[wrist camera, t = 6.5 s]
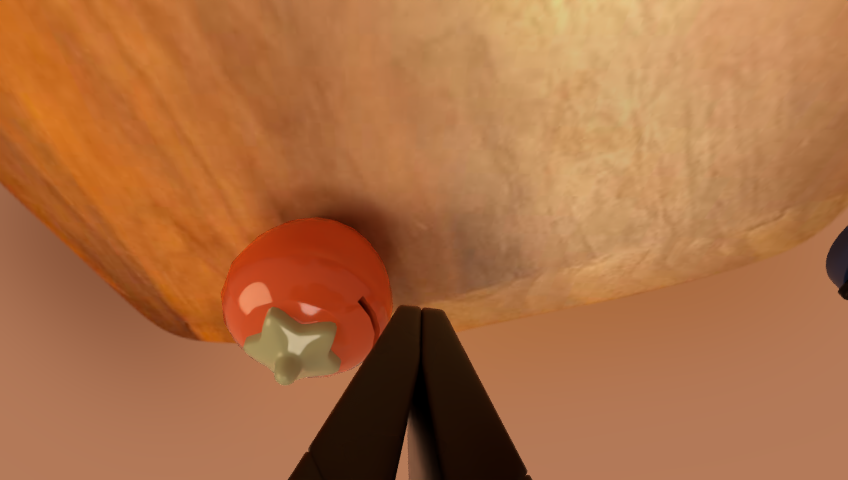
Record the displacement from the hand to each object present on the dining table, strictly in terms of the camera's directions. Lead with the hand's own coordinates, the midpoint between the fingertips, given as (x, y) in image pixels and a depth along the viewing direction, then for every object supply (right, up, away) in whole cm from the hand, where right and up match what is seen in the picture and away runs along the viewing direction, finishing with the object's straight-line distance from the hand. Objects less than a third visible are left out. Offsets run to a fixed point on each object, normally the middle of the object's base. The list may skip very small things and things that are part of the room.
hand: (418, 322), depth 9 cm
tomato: (-5, +1, +15) cm, 16 cm away
